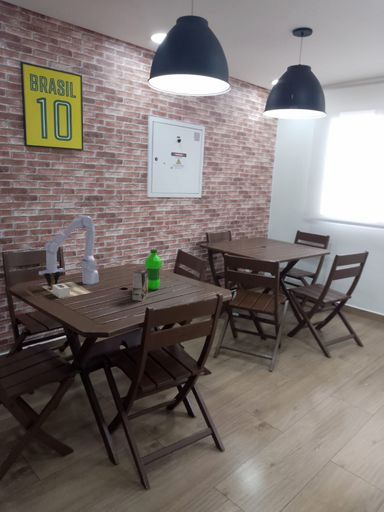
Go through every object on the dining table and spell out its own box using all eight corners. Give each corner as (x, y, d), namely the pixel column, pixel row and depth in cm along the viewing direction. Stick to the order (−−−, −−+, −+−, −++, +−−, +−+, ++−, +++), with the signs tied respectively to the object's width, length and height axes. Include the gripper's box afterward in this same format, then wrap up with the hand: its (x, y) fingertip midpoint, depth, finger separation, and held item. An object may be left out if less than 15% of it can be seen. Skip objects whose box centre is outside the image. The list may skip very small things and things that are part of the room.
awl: (54, 287, 219) (53, 276, 217) (56, 288, 216) (55, 278, 215) (48, 288, 216) (48, 277, 215) (50, 289, 214) (50, 279, 213)
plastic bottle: (147, 285, 236) (148, 247, 231) (162, 287, 234) (164, 248, 229) (142, 289, 227) (142, 250, 221) (158, 291, 225) (159, 251, 219)
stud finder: (63, 291, 211) (62, 282, 210) (69, 295, 205) (69, 286, 203) (52, 293, 207) (52, 284, 206) (59, 297, 201) (59, 288, 199)
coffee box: (142, 301, 206) (143, 273, 203) (132, 299, 208) (132, 272, 204) (148, 296, 215) (148, 269, 212) (137, 295, 216) (138, 268, 213)
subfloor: (72, 283, 232) (72, 281, 232) (91, 294, 213) (91, 292, 213) (42, 288, 219) (42, 286, 219) (60, 300, 201) (60, 298, 200)
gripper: (41, 265, 205) (42, 288, 208) (66, 262, 215) (67, 284, 218) (37, 263, 210) (38, 285, 213) (61, 260, 220) (62, 281, 223)
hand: (52, 285), depth 216 cm, fingers closed on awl, 3 cm apart
